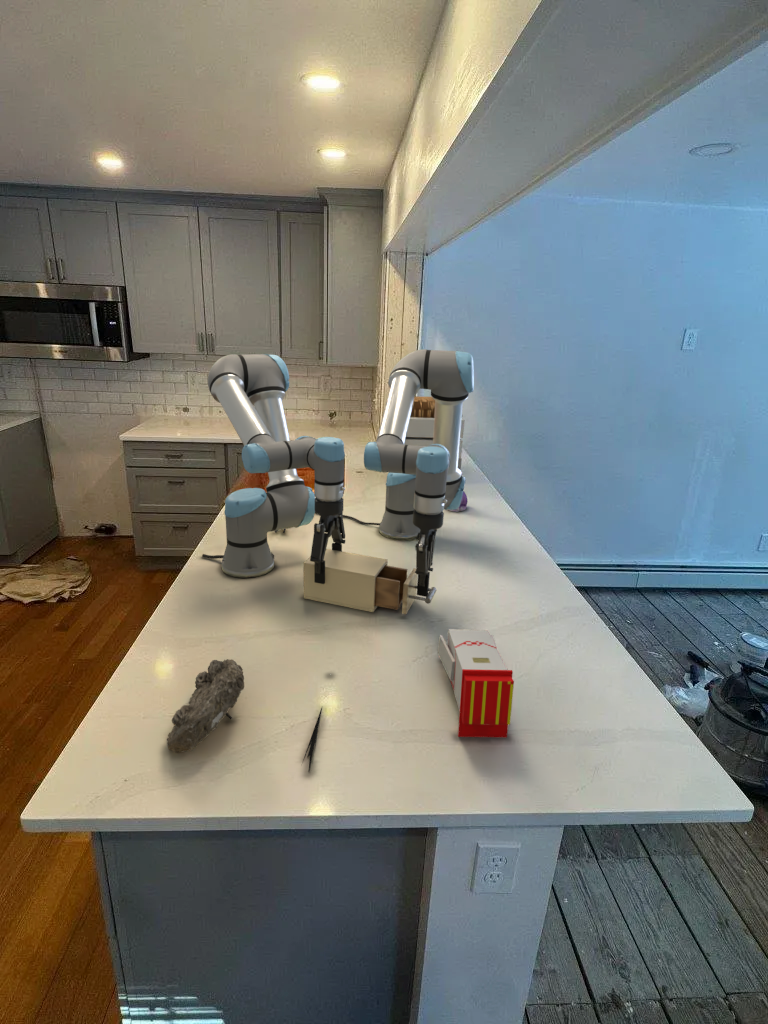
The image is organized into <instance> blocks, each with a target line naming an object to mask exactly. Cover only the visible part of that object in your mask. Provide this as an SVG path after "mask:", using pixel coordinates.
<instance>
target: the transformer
mask: <svg viewBox="0 0 768 1024" xmlns="http://www.w3.org/2000/svg"><path fill="white" fill-rule="evenodd" d="M434 415H435V400H434V399H433V398H432V397H431V396H415V397H414V402H413V406H412V411H411V416H410V420H409V425H408V430H407V434H406V439H405V444H404V445H414V446H427V447H428V446H430V445H432V444H433V433H434ZM464 429H465V419H464V418H462V419H461V431H460V443H459V456H458V468H459V469H460V471H461V472H462V461H463V460H462V453H463V442H464V441H463V440H462V439H463V438H464V431H465V430H464Z"/></svg>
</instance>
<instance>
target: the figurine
mask: <svg viewBox="0 0 768 1024" xmlns="http://www.w3.org/2000/svg"><path fill="white" fill-rule="evenodd" d="M461 473H462V475H461V476H463V471H461ZM467 506H468V496H467V494H466V492H465V491H464V490H463V495H462V499H461V503H460V506H459V508H458V509H456V510H449V511H450V512H463V511H465V510H466V509H467Z"/></svg>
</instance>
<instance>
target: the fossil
mask: <svg viewBox="0 0 768 1024" xmlns="http://www.w3.org/2000/svg"><path fill="white" fill-rule="evenodd" d="M243 670H244V669H243V667H242V665H240V664H237V662H236V661H235V660H234V659H232V658H231V659H227V658H226V659H224V660H223V661H222V660H217V659H212V660H211V661H210V663H209V665H208V666H207V671H201V672H199V673H198V674H197V675H196V676H195V680H194V684H195V685H194V687H195V689H194V690H193V693H192V694H191V697H190V698H189V700H188V704H184V705H182V706H181V707H180V709H177V710H176V711H175V713H174V715H173V716H172V718H171V723H172V724H173V727H172V730H171V731H170V732H168V734H167V738H166V741H167V742H166V745H167V749H168V750H169V751H173V752H174V753H176V754H178V753H182V752H188V751H189V752H192V751H193V750H195V748H196V747H197V746H199V744H200V743H201V742H203V741H204V740H205V739H206V738H207V737H208V736H209V735H210V734H211V733H212V732H214V730H215V729H217V727H218V726H219V724H220V722H221V721H222V720H223V719H224V718H225V716H226V717H227V719H229V720H233V717H232V715H230V714H229V710H230V709H231V708H234V706H235V704H236V703H237V702H238V699H239V697H240V695H241V693H242V691H243V690H245V689H244V688H245V675H244V671H243Z"/></svg>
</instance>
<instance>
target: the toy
mask: <svg viewBox="0 0 768 1024" xmlns="http://www.w3.org/2000/svg"><path fill="white" fill-rule="evenodd" d="M446 640H447V643H446V641H445V639H444V636H443V635H442V634H439V637H438V646H437V656H438V657H439V659H440V661H441V663H442V666H443V668H444V670H445V672H446V674H447V677H448V679H449V681H450V684H451V687H452V690H453V693H454V697H455V701H456V705H457V708H458V711H459V714H458V715H459V716H458V730H457V731H458V732H457V737H458V738H508V731H509V726H510V725H511V717H512V707H513V697H514V696H513V695H514V684H515V680H514V679H513V673H514V671H513V670H512V669H508V667H507V665H506V662H505V661H504V659H503V658H502V655H501V653H500V651H499V649H498V647H497V643H496V639H495V637H494V635H493V634H491V632H490V631H489V629H467V628H466V629H465V628H463V629H461V628H460V629H459V628H448V630H447V639H446Z"/></svg>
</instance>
